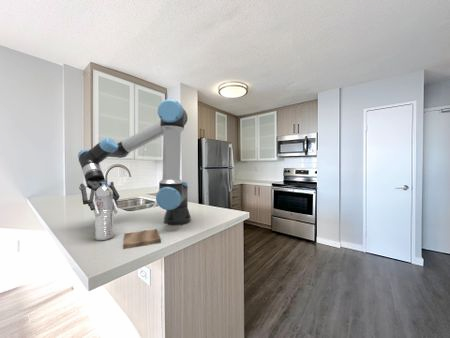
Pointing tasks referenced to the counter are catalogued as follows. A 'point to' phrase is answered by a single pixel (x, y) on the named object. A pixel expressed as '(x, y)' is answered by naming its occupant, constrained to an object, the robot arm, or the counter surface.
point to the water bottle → (104, 212)
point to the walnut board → (141, 238)
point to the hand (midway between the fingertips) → (107, 213)
